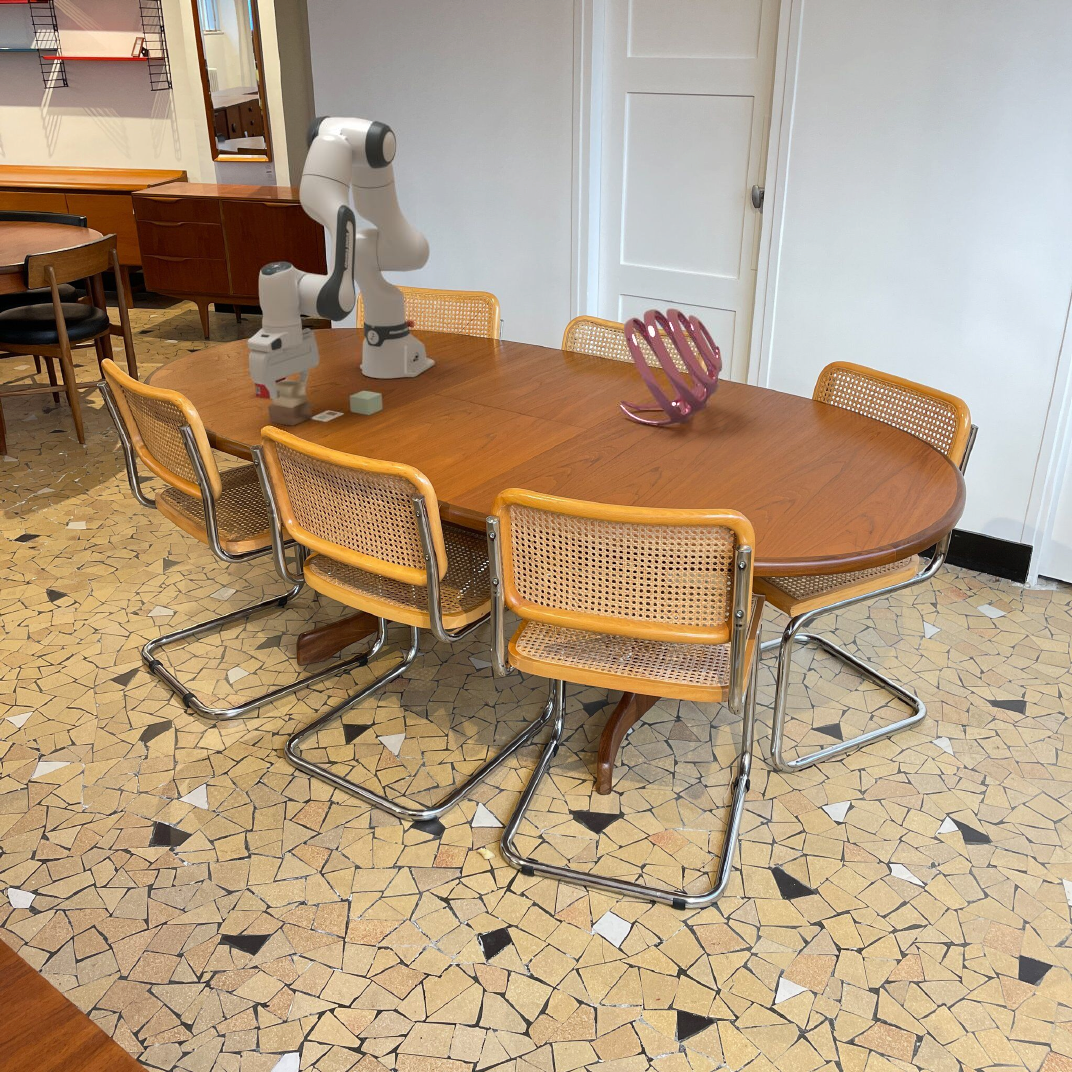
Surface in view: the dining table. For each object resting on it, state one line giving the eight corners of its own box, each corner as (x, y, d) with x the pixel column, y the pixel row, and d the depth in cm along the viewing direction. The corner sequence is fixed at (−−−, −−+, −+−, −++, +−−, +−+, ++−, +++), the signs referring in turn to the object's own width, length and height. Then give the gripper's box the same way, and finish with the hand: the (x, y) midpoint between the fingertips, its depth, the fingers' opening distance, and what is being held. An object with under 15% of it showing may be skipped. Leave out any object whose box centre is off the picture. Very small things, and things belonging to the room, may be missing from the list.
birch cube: (289, 399, 242) (286, 379, 240) (306, 402, 240) (304, 381, 238) (273, 405, 238) (270, 384, 236) (291, 408, 235) (288, 387, 233)
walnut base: (290, 413, 245) (288, 398, 243) (312, 417, 242) (310, 401, 240) (270, 421, 239) (268, 405, 238) (292, 425, 236) (290, 409, 235)
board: (293, 405, 254) (293, 401, 253) (350, 416, 246) (349, 412, 245) (242, 425, 239) (242, 420, 239) (301, 438, 231) (300, 433, 231)
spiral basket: (571, 344, 234) (672, 282, 224) (603, 345, 260) (696, 290, 250) (627, 450, 234) (731, 393, 224) (653, 441, 260) (748, 389, 250)
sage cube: (365, 409, 252) (363, 390, 249) (382, 413, 249) (381, 393, 247) (351, 415, 247) (349, 396, 245) (368, 419, 245) (367, 399, 243)
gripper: (302, 324, 242) (307, 380, 247) (241, 343, 225) (248, 402, 231) (323, 328, 239) (327, 384, 245) (263, 346, 223) (269, 406, 228)
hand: (288, 393), depth 238 cm, fingers open, 8 cm apart
